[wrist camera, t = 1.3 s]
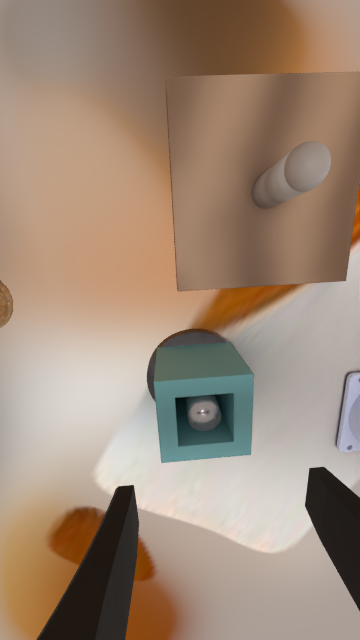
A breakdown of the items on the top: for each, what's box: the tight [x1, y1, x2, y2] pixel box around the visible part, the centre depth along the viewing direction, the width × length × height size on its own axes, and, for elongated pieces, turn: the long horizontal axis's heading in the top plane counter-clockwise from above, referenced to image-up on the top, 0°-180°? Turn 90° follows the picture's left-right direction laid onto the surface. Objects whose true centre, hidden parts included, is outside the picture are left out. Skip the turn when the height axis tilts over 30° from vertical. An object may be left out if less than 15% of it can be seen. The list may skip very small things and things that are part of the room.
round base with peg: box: [147, 329, 228, 431], centre depth 17 cm, size 8×8×6 cm
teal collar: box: [154, 342, 254, 463], centre depth 16 cm, size 6×6×5 cm
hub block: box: [166, 72, 360, 291], centre depth 13 cm, size 12×12×6 cm
